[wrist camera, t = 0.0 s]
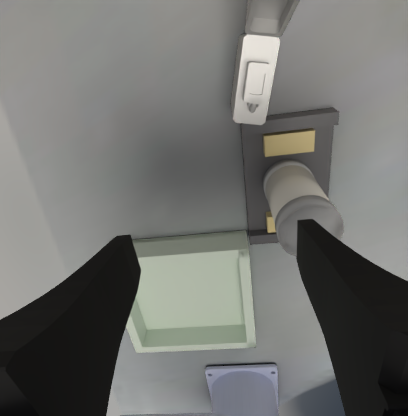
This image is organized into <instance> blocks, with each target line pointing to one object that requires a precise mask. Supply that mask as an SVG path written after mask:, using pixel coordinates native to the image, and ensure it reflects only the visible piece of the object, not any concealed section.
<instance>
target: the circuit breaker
mask: <svg viewBox="0 0 408 416" xmlns="http://www.w3.org/2000/svg"><path fill="white" fill-rule="evenodd" d="M299 1H300V0H248V4H247V14H246V24H245V33H247V34H242V35H241V36H240V37H239V38H238V46H237V54H236V62H235V71H234V79H233V87H232V95H231V103H230V104H231V110H232V116H233V120H234V121H235V122H236V123H244V124H255V125H262V124H264V123H265V121H266V116H267V110H268V105H269V100H270V94H271V89H272V83H273V78H274V73H275V67H276V62H277V56H278V51H279V46H280V40H279V39H278V37H280V36H282V35H283V33H284V31H285V29H286V27H287V25H288V23H289V21H290V19H291V17H292V15H293V13H294V11H295V9H296V7H297V5H298V3H299Z"/></svg>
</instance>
